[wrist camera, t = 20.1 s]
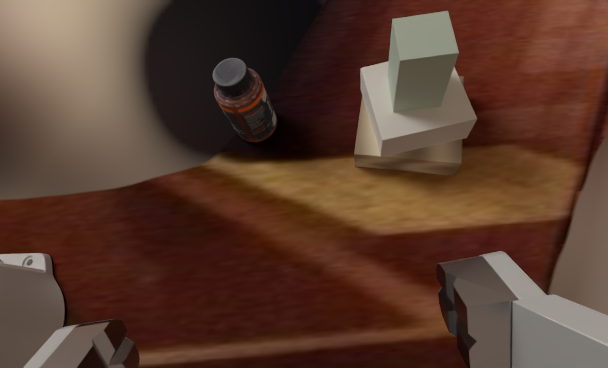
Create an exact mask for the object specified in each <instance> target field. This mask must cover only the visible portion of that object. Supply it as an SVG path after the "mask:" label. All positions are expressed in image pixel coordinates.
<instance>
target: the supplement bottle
mask: <svg viewBox="0 0 608 368" xmlns="http://www.w3.org/2000/svg"><path fill="white" fill-rule="evenodd" d="M213 79H214V81H215V83H216V84H215V88H214V94H215V98H216V100H217V102H218V104H219V105H220V107H221V108H222V110H223V112H224V113H225V115H226V116H227V118H228V119H229V121H230V122H231V124H232V125H233V127H234V129H235V130H236V132H237V133H238V134H239V136H240V137H241V138H242V139H244V140H246V141H248V142H260V141H263V140H265V139H267V138H268V137H270V136H271V135H272V134H273V132H274V131H275V128H276V125H277V118H276V114H275V112H274V109H273V107H272V105H271V102H270V100H269V97H268V95H267V92H266V90H265V88H264V85H263V83H262V81H261V78H260V77H259V76H258V74H257V73H256V72H255V71H254V70H252V69H249V68H247V67H246V65H245V63H244V62H243V61H242V60H240V59H237V58H230V59H226V60H224V61H222V62H220V63H219V64H218V65H217V66H216V68H215V69H214V72H213Z"/></svg>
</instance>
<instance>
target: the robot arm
mask: <svg viewBox="0 0 608 368" xmlns="http://www.w3.org/2000/svg"><path fill="white" fill-rule="evenodd" d="M436 274H437V279H438V281H439V283H440V284H441V286H442V288H441V289H440V291H439V292H438V296H439V304H440V308H441V312H442V316H443V318H444V321H445V324H446V326H447V328H448V330H449V332H450V333H451V334H453V335H454V336H456V337H457V347H458V350H459V352H460V354H461V356H462V358H463V360H464V362H465V364H466V366H467V368H608V316H607V315H605V314H602V313H600V312H597V311H595V310H592V309H590V308H587V307H584V306H582V305H580V304H577V303H575V302H572V301H569V300H567V299H564V298H562V297H559V296H557V295H548V296H547V295H546V294H545V293H544V292H543V291H542V290H541V289H540V288H539V287H538V286H537V285H536V284H535V283H534V282H533V281H532V280H531V279H530V278H529V277H528V276H527V275H526V274H525V273H524V272H523V271H522V269H521V268H520V267H519V266H518V265H517V264H516V263H515V262H514V261H513V260H512V259H511V258H510V257H509V256H508V255H507V254H506V253H504V252H502V251H499V252H494V253H489V254H484V255H479V256H478V257H472V258H466V259H461V260H455V261H449V262H444V263H438V264H437V266H436ZM64 315H65V308H64V299H63V295H62V292H61V290H60V288H59V286H58V284H57V283H56V281H55V279H54V277H53V273H52V261H51V258H50V256H49V255H48V254H42V253H29V254H0V368H138V366H139V360H140V359H139V353H138V349H137V347H136V345H135V343H134V342H132V341H130V340H129V339H127V338H126V334H127V331H128V330H127V328H126V326H125V325H124V323H123V321H122V320H118V319H111V320H105V321H98V322H91V323H84V324H80V325H73V326H66V327H63V323H64Z"/></svg>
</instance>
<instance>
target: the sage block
mask: <svg viewBox="0 0 608 368" xmlns="http://www.w3.org/2000/svg"><path fill="white" fill-rule="evenodd" d="M458 54H459V51H458V48H457V44H456V40H455V36H454V33H453V29H452V25H451V21H450V17H449V14H448V11H444V12H437V13H430V14H424V15H417V16H410V17H404V18H397V19H392V30H391V41H390V52H389V63H388V74H387V76H388V83H389V89H390V96H391V102H392V109H393V112H398V111H406V110H415V109H424V108H433V107H440V106H441V103H442V100H443V98H444V95H445V92H446V89H447V86H448V83H449V80H450V77H451V74H452V71H453V68H454V65H455V62H456V60H457V57H458Z"/></svg>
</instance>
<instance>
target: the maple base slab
mask: <svg viewBox="0 0 608 368" xmlns="http://www.w3.org/2000/svg"><path fill="white" fill-rule="evenodd" d="M459 79H460V81H461V83H462V85H463V77H462V76H459ZM354 160H355V166H358V167H368V168H379V169H389V170H400V171H410V172H421V173H431V174H441V175H452V176H455V174H456V172H457V171H458V169H459V167H460V166H461V164H462V139H460V140H456V141H451V142H447V143H442V144H438V145H433V146H429V147H424V148H419V149H415V150H410V151H406V152H401V153H397V154H392V155H388V156H383V157H380V154H379V150H378V147H377V143H376V140H375V136H374V133H373V130H372V126H371V123H370V119H369V116H368V113H367V109H366V106H365V102H364V99H363V96H362V102H361V109H360V116H359V123H358V131H357V138H356V145H355V152H354Z"/></svg>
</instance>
